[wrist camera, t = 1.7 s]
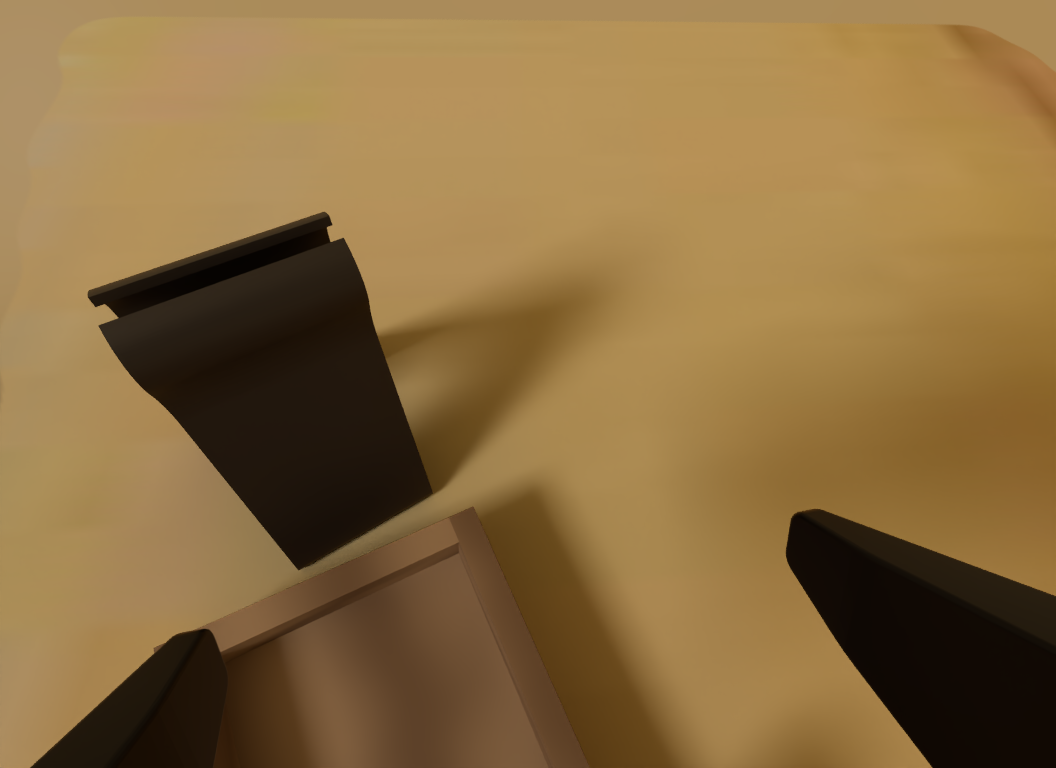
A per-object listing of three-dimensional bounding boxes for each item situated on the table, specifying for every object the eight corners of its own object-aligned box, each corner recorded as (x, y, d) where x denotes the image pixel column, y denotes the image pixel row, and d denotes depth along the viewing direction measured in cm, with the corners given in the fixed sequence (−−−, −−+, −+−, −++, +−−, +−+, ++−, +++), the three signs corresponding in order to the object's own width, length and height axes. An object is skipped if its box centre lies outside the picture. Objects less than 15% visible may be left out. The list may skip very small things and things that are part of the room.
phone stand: (433, 496, 23) (415, 348, 13) (299, 572, 21) (148, 469, 11) (346, 345, 26) (275, 129, 16) (221, 399, 24) (46, 188, 14)
